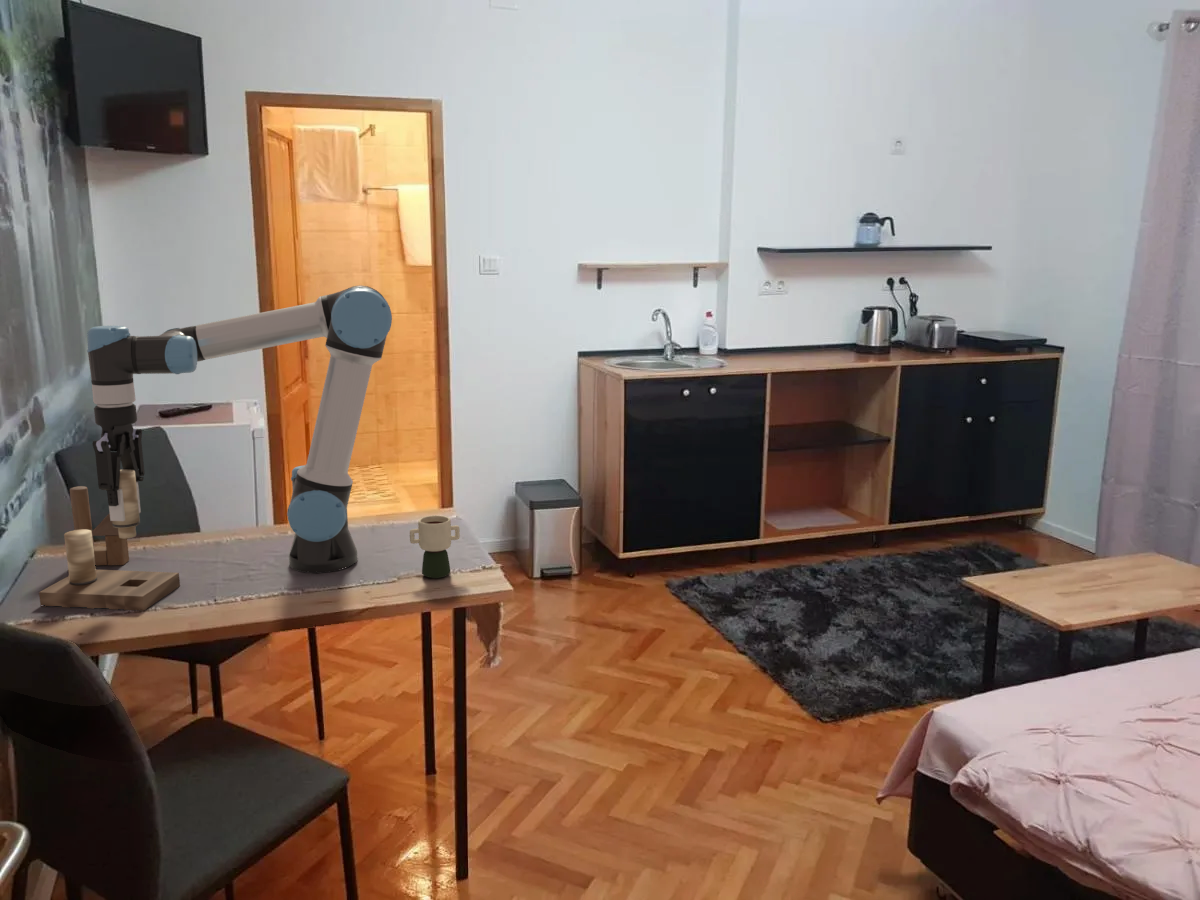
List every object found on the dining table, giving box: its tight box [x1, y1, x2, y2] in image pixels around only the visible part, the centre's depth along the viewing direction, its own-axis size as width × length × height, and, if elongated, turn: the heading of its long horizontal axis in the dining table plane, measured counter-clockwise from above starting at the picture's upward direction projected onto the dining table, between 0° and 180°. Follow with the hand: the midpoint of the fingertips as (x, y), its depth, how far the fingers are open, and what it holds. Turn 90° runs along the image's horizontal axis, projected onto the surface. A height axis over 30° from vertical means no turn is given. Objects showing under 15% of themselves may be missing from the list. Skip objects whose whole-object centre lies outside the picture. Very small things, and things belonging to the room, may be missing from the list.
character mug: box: [409, 514, 461, 579], centre depth 212 cm, size 11×7×13 cm, turn 108°
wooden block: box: [69, 485, 130, 566], centre depth 218 cm, size 4×11×18 cm, turn 95°
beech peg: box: [112, 468, 141, 539], centre depth 196 cm, size 5×5×14 cm
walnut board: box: [38, 529, 181, 612], centre depth 199 cm, size 22×14×14 cm, turn 85°
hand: (125, 516), depth 197 cm, fingers closed on beech peg, 5 cm apart
